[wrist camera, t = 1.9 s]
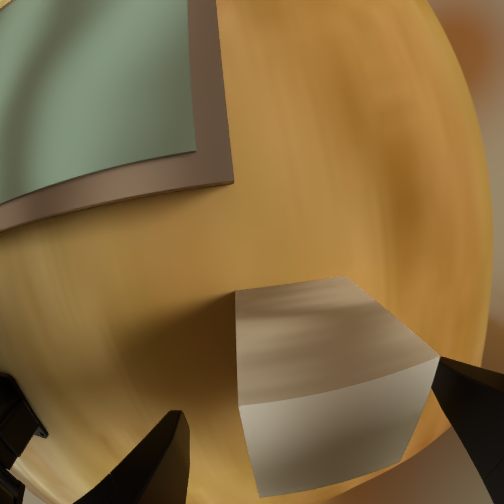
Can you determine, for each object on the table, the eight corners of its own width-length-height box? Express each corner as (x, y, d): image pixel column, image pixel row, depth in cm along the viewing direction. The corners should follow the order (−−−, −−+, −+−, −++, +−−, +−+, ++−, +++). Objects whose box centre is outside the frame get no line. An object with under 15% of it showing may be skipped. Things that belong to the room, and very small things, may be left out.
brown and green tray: (-4, 233, 10) (-43, 244, 7) (10, 33, 7) (-16, 18, 4) (233, 183, 11) (234, 180, 8) (211, -44, 8) (209, -80, 4)
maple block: (248, 379, 13) (259, 497, 6) (235, 290, 12) (238, 406, 5) (341, 363, 13) (399, 461, 6) (344, 275, 12) (440, 356, 5)
